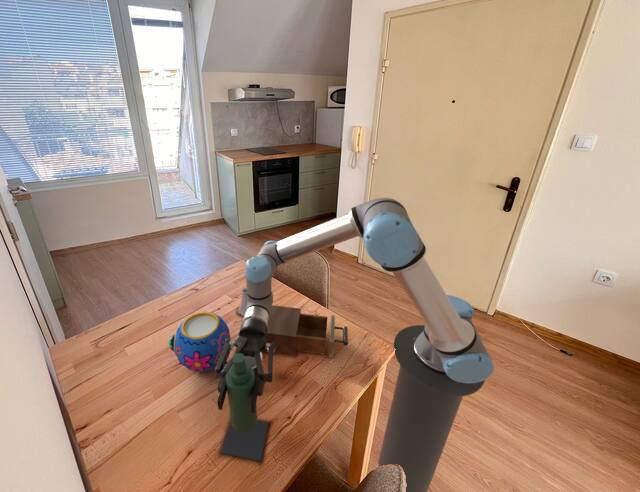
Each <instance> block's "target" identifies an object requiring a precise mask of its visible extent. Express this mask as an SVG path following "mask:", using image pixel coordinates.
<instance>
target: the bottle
mask: <svg viewBox="0 0 640 492" xmlns="http://www.w3.org/2000/svg"><path fill="white" fill-rule="evenodd" d="M232 356H233V355H232ZM254 383H255V373H254V370H253V369H252V368H251V367H250V366H249V365H248V364H247V363H246V362H245V356H244V355H243V354H241V353H237V354H235V355H234V356H233V365H232V366H231V368H230V369H229V371H228V372H227V375H226V384H227V393H226V394H227V401H228V410H229V417H230V423H231V425H232V427H233V428H234V429H235V430H236V431H238V432H247V431H249V430H251V429H252V428H253V427H254V425H255V424H256V421H257V420H258V410H257V409H258V407H257V406H256V408H255V413H251V399H252V394H253V388H254Z"/></svg>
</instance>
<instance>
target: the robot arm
mask: <svg viewBox="0 0 640 492" xmlns="http://www.w3.org/2000/svg"><path fill="white" fill-rule="evenodd" d="M357 237H359V238H362V239H363V244H364V248H365V250H366V252H367V255H368V256H369V257H370V258H371V260H373V261H374V262H375V263H376V264H378V265H380V267H381V269H383V271H385V272H388V273H392V274H393V276H394V277H395V278H396V280H397V282H398V283H399V285H400V287H401V288H402V290H403V291H404V293H405V294H406V296H407V298H408V299H409V301H410V302H411V304H412V306H413V307H414V308H415V311H416V312H417V313H418V315H419V317H420V318H421V319H422V321H423V323H424V325H425V327H424V331H423V332H422V333H421V334H420V335H419V336H418V337H414V338H413V341H415V342H414V347H413V350H414V354H415V356H416V357H417V359H418V360H419V361H420V362H421V363H422V364H423V365H424V366H426V367H427V368H429V369H431V370H432V371H435V372H437V373H441V374H446V375H448V377H450V378H451V379H452V380H454V381H457V382H462V383H477V382H481V381H484V380H485V381H486V380H488V379H489V378H490V376H492V375H493V373H494V371H495V365H494V363H493V358H492V356H490V354H489V352H488V350H487V348H486V346H485V344H484V343H483V341H482V339H481V337H480V334H479V333H478V331H477V329H476V327H475V325H474V323H473V320H472V319H473V317H474V315H475V314H474V312H475V310H474V307H473V305H471V303H469V302H468V301H467V300H465V299H463V298H460V297H458V296H455V295H452V294H451V295H450V294H447V293H446V291H445V290H444V288H443V286H442V284H441V283H440V281H439V280H438V277H437V276H436V275H435V273H434V271H433V270H432V268H431V266H430V265H429V263H428V261H427V259H426V257H425V256H426V254H427V248H426V245H425V243H424V242H423V239H422V238H421V237H420V235H419V233H418V231H417V230H416V228H415V226H414V224H413V223H412V221H411V218H410V216H409V213H408V211H407V209H406V207H405V206H404V205H403V204H402V203H401V202H399V201H398V200H397V199H395V198H392V197H391V198H390V197H378V198H375V199H374V198H373V199H371V200H368V201H366V202H363V203H360V204H358V205H356V206H353V207H351V208H350V209H349V211H348V212H347V213H345V214H342V215H339V216H338V217H335V218H332V219H330V220H327V221H325V222H322V223H320V224H318V225H315V226H313V227H310V228H308V229H306V230H303V231H301V232H298V233H295V234H293V235H290V236H288V237H286V238H283V239H280V240H278V241H277V240H272V239H271V240H268V241H266V242H264V244H263V245H262V246H261V248H260V249H259V251H258V253H257V255H256V256H252V257H251V258H249V259H247V261H246V262H245V270H244V275H245V282H246V283H245V284H246V288H247V307H246V311H245V314H244V316H243V318H242V321H241V324H240V328H239V332H238V336H237V337H236V338H235V339H234V340H231V341H229V339H226V340H225V346H224V349H223V351H222V353H221V355H220V358H219V360H218V362H217V364H216V367H214V375H215V378H216V379H219V380H218V382H217V393H219V394H218V397H217V402H216V403H217V409H218V411H222V410H223V409H224V408H223V407H224V404H225V400H226V397H227V394H228V393H227V384H226V375H227V372H228V371H229V369H230V368H231V366H232V365H233V356H234V355H235V354H237V353H241V354H243V355H244V356H245V357H246V356H250V357H254V358H255V362H256V367H257V372H258V377H256V378H255V383H254V388H253V394H252V399H251V413H255V408H256V407H257V401H258V397H262V396H263V393H264V388H265V383H272V382H273V379H274V378H273V377H274V355H275V354H276V353H275V351H276V344H275V342H272V343H271V344H270V343H267V342H266V335H267V329H268V323H269V317H270V311H271V306H272V305H273V301H274V293H273V290H272V279H273V277H274V275H275V273H276V270H277V268H278V266H280V265H283V264H286V263H288V262H291V261H293V260H296V259H298V258H302V257H305V256H307V255H310V254H313V253H316V252H318V251H322V250H324V249H327V248H330V247H332V246H335V245H339V244H340V243H343V242H347V241H349V240H351V239H355V238H357ZM234 347H235V348H236V349H235V352H234V353H233V355H231V357H230V354H231V351H233V348H234ZM265 348H266V349H267V352H266V353H267V366H266V367H267V370H266V373H265V371H264V367H263V360H262V361H261V357H260V353H263V352H264V351H263V350H264V349H265ZM229 357H230V358H229ZM228 359H229V360H228ZM226 362H228V363H227V364H226ZM485 381H484V382H485Z"/></svg>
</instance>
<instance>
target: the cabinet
mask: <svg viewBox="0 0 640 492" xmlns="http://www.w3.org/2000/svg"><path fill="white" fill-rule="evenodd" d="M300 313H301V314H302V309H301V308H299V307H289V306H282V305H273V304H272V306H271V311H270V317H269V323H268V329H267V335H266V342H267V343H270V344H271V343H272V342H275V344H276V351H275V353H274V354H278V355H285V356H286V355H287V356H292V357H296V356H297V352H298V351H297V350H296V336H297V330H298V324H299V318H300ZM262 352H264V353H268V352H267V349H266V348H265V349H264V350H263V351H262Z"/></svg>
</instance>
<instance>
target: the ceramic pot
mask: <svg viewBox="0 0 640 492" xmlns="http://www.w3.org/2000/svg"><path fill="white" fill-rule="evenodd" d="M226 339H229V341H232V339H231V333H230V329H229V325H228V324H227V323H226V321H225V320H224V319H223V318H222V317H221V316H219V315H218V314H216V313H214V312H210V311H199V312H197V313H193V314H191V315H190V316H188V317H187V318H185V319H184V320H183V321H182V322H181V323H180V325H179V326H178V328H177V330H176V332H175V334H173V335H172V336H171V337H170V338H169V341H168V346H169V349H170V350H171V351H172V352H173V353H174V354H175V356H176V358H177V360H178V363H180V364H181V365H182V366H183V367H185V368H186V369H188V370H189V371H192V372H197V373H203V372H204V373H205V372H207V371H210V370H213V369H215V367H216V364H217V362H218V360H219V358H220V355H221V353H222V351H223V349H224V346H225V340H226Z"/></svg>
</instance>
